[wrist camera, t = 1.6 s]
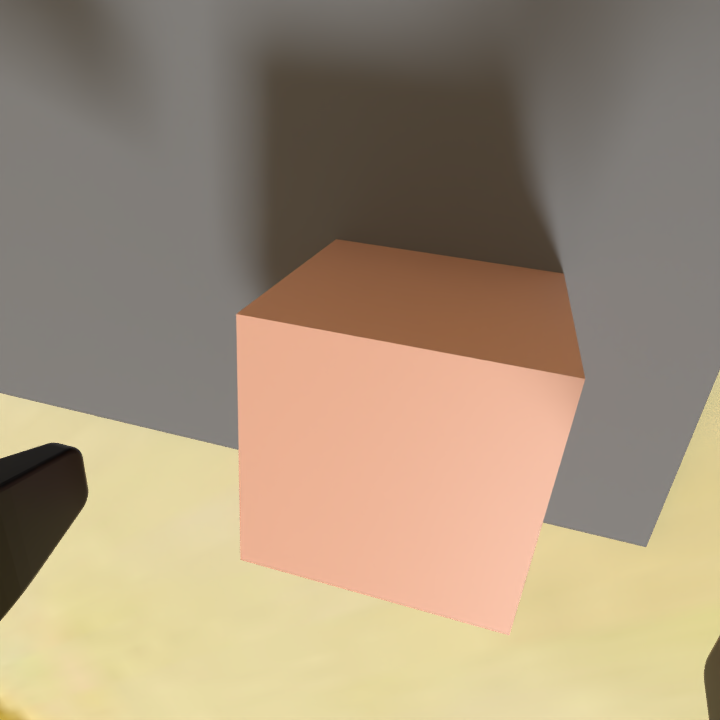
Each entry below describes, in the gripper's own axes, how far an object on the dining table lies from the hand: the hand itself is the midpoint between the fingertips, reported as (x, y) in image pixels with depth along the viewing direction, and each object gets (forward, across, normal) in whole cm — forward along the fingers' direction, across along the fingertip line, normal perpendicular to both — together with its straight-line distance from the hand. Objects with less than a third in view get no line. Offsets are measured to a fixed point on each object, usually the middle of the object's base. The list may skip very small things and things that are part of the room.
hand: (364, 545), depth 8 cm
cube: (+6, 0, 0) cm, 6 cm away
